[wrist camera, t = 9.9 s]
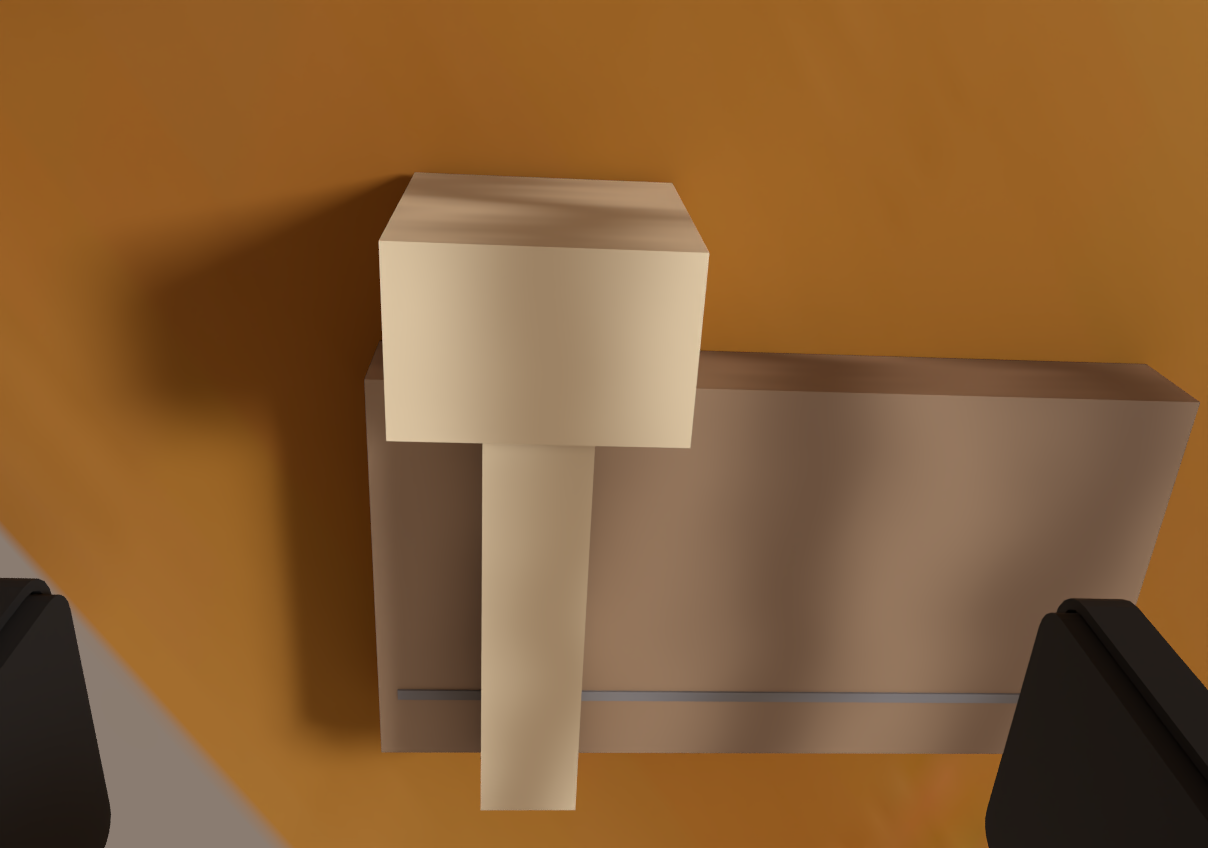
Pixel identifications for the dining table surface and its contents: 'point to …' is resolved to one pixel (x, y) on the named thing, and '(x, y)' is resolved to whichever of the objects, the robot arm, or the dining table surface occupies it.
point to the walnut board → (798, 553)
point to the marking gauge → (538, 409)
